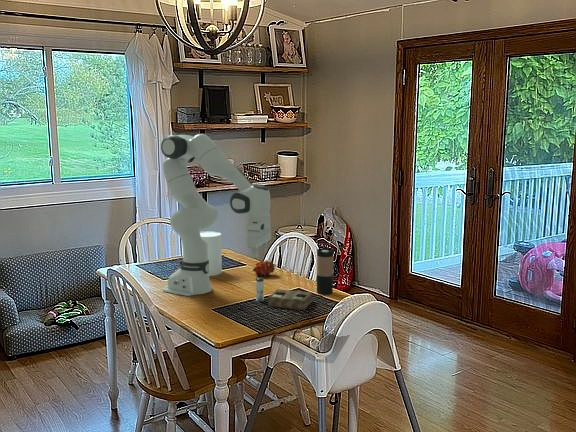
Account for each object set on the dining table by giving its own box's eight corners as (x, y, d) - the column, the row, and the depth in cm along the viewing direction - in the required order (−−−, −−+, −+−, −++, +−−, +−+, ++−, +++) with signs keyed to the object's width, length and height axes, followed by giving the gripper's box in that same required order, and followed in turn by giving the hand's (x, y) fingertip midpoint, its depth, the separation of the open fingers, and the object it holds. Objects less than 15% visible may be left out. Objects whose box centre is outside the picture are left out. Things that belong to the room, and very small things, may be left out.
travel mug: (324, 289, 282) (324, 247, 278) (336, 292, 276) (337, 250, 273) (312, 292, 276) (313, 249, 273) (325, 296, 271) (325, 252, 268)
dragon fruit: (277, 277, 306) (254, 283, 302) (270, 265, 312) (248, 270, 307) (278, 267, 300) (256, 273, 296) (272, 254, 305) (250, 260, 301)
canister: (190, 274, 306) (189, 235, 303) (203, 267, 319) (202, 230, 315) (213, 277, 301) (212, 237, 298) (226, 270, 314) (225, 232, 310)
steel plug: (255, 301, 264) (255, 279, 262) (257, 299, 267) (257, 277, 265) (262, 302, 263) (262, 279, 261) (264, 299, 266) (264, 277, 264)
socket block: (268, 306, 257) (268, 296, 257) (277, 297, 269) (277, 288, 268) (304, 310, 253) (304, 300, 252) (312, 301, 264) (312, 291, 263)
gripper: (261, 218, 269) (261, 248, 272) (244, 226, 250) (244, 259, 253) (274, 219, 268) (274, 249, 270) (258, 227, 248) (258, 260, 251)
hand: (259, 254), depth 261 cm, fingers open, 8 cm apart
